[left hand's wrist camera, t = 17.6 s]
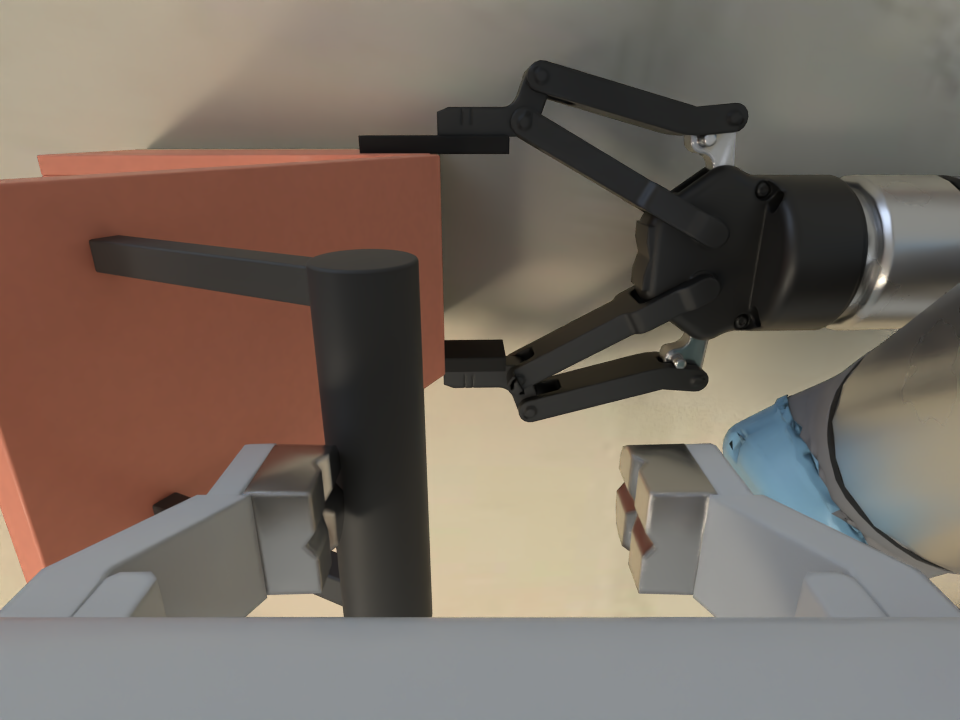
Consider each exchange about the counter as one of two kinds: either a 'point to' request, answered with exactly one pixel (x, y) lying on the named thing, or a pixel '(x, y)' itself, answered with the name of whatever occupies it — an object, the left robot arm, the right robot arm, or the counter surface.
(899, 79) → the counter surface
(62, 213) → the lid
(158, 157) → the chest
